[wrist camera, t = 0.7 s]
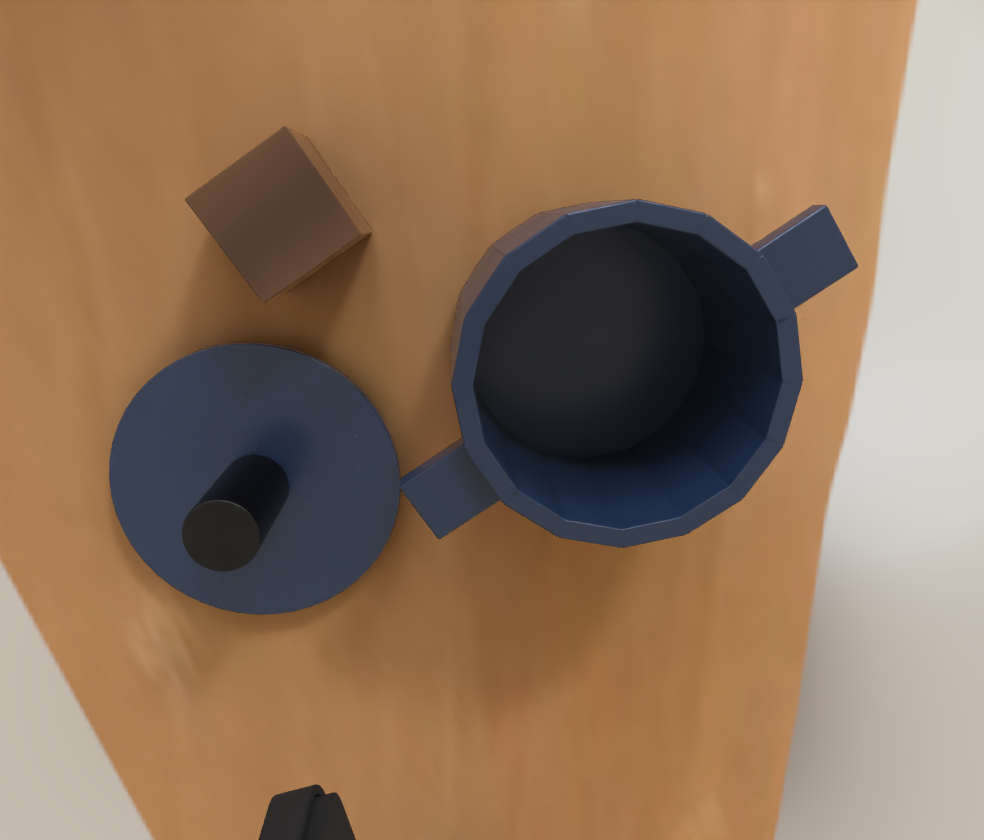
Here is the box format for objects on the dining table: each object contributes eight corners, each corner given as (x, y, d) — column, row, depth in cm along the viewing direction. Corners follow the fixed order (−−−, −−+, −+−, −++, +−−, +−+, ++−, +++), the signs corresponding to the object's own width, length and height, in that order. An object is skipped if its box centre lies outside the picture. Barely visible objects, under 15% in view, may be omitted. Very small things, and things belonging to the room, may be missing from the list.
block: (218, 200, 32) (183, 199, 27) (307, 136, 31) (285, 124, 27) (286, 292, 33) (262, 304, 29) (373, 231, 32) (362, 234, 28)
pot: (347, 342, 33) (314, 385, 25) (686, 109, 32) (769, 73, 24) (496, 546, 36) (511, 645, 28) (815, 341, 35) (930, 382, 26)
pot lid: (59, 443, 34) (-32, 497, 27) (287, 282, 33) (249, 299, 26) (239, 650, 37) (195, 742, 30) (455, 509, 36) (457, 573, 29)
